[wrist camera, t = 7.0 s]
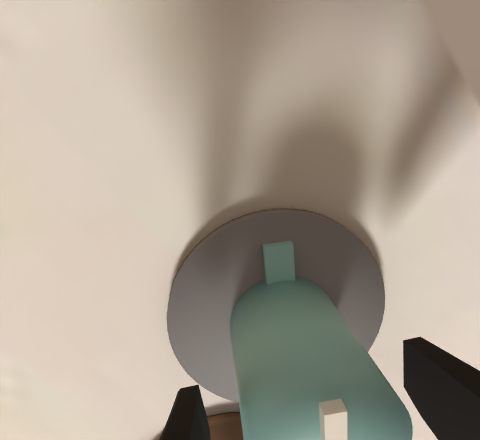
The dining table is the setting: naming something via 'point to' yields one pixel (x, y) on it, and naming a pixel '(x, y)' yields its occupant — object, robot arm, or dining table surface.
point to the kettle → (306, 364)
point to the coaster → (252, 271)
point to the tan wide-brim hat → (226, 426)
